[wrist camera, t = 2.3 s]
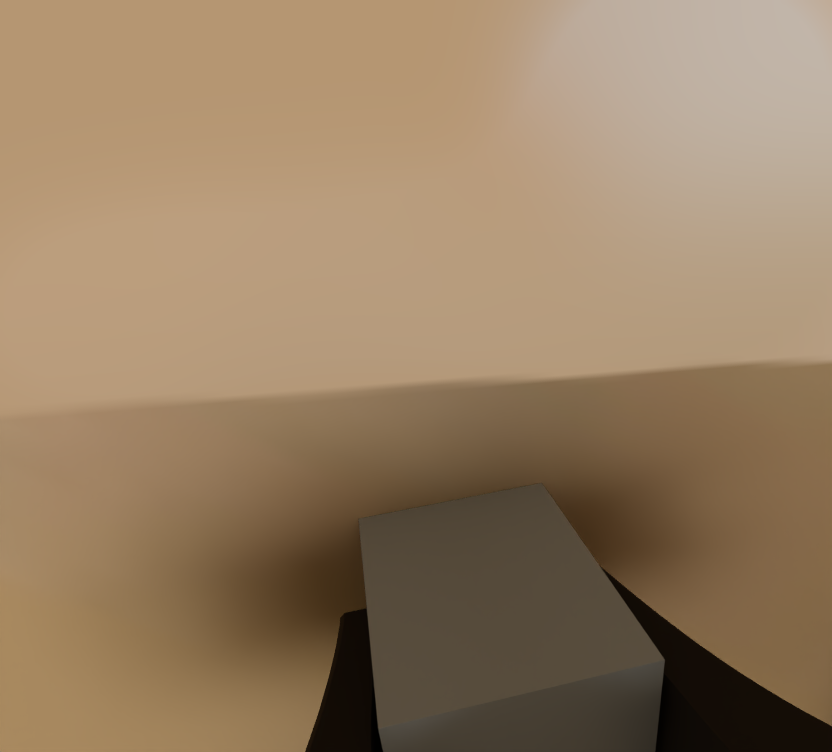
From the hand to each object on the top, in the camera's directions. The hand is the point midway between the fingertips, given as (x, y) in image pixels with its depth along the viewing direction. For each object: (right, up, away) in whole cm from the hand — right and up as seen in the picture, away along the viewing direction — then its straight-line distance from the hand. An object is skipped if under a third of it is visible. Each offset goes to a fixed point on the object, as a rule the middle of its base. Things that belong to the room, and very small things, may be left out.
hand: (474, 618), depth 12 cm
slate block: (0, +1, +1) cm, 2 cm away
